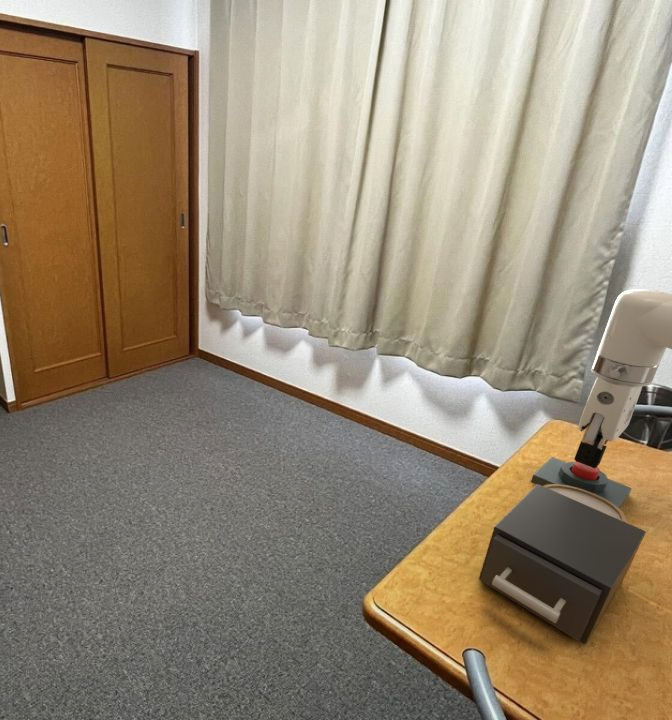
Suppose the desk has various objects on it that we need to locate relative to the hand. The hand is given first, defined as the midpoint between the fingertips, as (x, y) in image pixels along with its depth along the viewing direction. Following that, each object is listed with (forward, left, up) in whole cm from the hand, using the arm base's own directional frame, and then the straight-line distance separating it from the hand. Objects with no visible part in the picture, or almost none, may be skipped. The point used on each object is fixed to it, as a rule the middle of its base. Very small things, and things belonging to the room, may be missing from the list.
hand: (586, 462), depth 83 cm
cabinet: (-5, +27, -6) cm, 28 cm away
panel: (0, 0, -6) cm, 6 cm away
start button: (0, 0, -2) cm, 2 cm away
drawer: (-5, +31, -5) cm, 31 cm away
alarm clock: (-3, +12, -5) cm, 14 cm away
